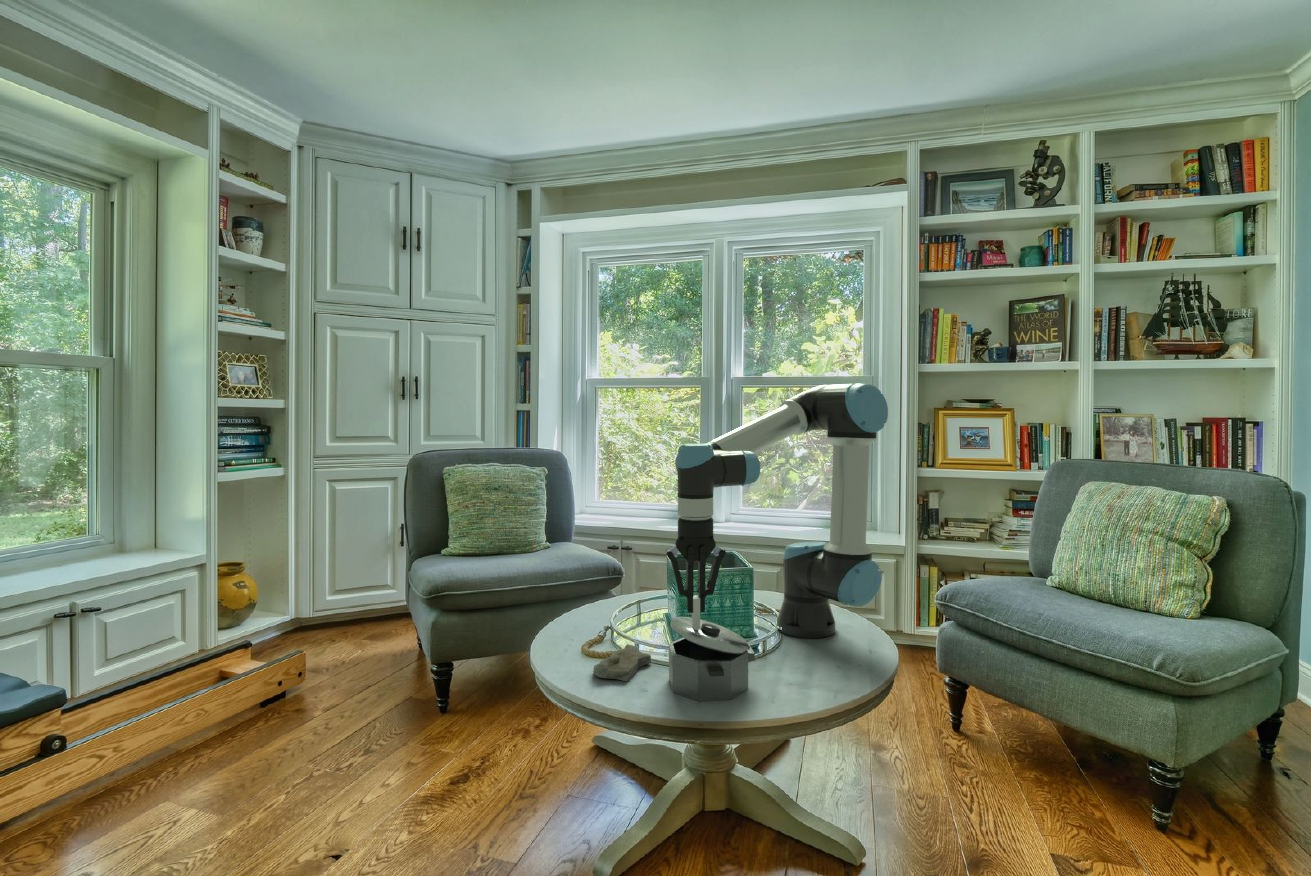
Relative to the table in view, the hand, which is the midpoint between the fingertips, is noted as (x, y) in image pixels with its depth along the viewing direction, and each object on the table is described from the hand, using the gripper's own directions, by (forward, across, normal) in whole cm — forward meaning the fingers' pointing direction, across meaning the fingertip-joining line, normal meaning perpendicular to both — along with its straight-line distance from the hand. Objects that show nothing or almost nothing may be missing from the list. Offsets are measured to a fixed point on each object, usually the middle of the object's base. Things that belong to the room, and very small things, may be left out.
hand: (695, 627), depth 144 cm
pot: (+13, -3, 0) cm, 13 cm away
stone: (+13, +15, -10) cm, 23 cm away
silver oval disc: (+2, -3, 0) cm, 4 cm away
